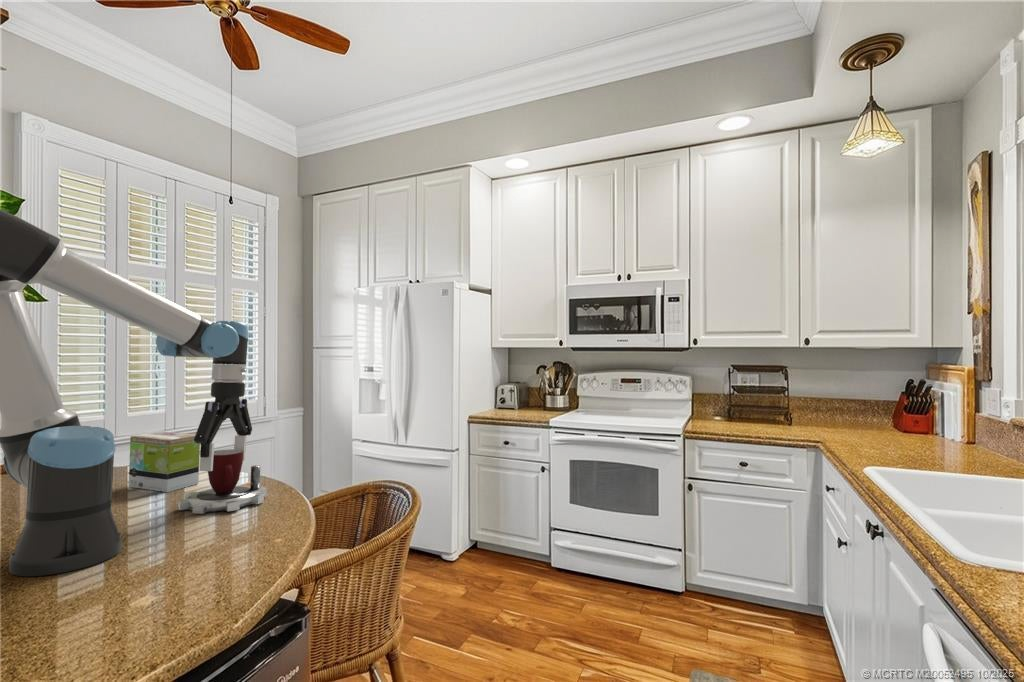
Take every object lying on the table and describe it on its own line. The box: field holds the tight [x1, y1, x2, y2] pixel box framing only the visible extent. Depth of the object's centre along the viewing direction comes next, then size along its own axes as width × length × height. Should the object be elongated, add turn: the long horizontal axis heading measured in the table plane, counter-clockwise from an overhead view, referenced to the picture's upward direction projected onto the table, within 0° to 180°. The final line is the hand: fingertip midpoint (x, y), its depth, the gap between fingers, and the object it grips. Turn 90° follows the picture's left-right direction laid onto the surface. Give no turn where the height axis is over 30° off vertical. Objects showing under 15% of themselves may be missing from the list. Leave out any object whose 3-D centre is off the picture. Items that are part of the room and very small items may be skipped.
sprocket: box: [177, 465, 268, 515], centre depth 123 cm, size 19×19×8 cm
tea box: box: [128, 431, 201, 493], centre depth 139 cm, size 15×10×15 cm
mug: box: [207, 448, 244, 493], centre depth 124 cm, size 10×8×10 cm
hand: (223, 465), depth 123 cm, fingers open, 13 cm apart
